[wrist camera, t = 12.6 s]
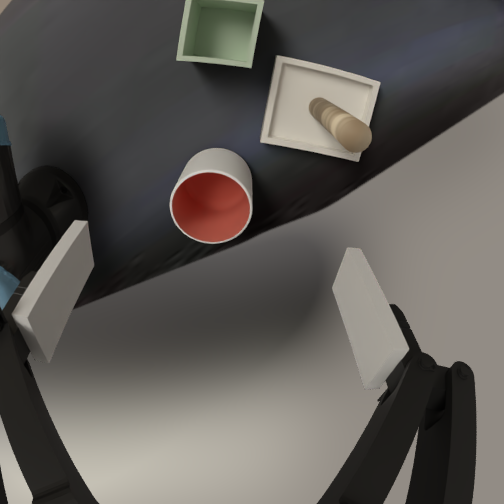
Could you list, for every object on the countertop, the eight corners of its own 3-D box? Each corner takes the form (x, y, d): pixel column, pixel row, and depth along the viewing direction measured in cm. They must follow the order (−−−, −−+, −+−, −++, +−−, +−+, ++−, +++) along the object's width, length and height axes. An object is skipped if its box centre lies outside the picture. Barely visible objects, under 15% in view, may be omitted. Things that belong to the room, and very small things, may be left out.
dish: (259, 137, 43) (260, 142, 41) (275, 55, 36) (277, 55, 34) (353, 156, 44) (358, 162, 42) (374, 80, 37) (380, 82, 35)
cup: (192, 138, 43) (177, 160, 34) (260, 155, 44) (263, 182, 36) (178, 199, 48) (164, 233, 40) (241, 214, 50) (239, 251, 41)
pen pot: (189, 59, 36) (176, 60, 29) (198, 3, 31) (187, -7, 25) (250, 66, 37) (251, 68, 30) (261, 10, 32) (264, 0, 26)
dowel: (306, 115, 40) (336, 148, 27) (311, 95, 38) (344, 117, 25) (327, 120, 40) (366, 155, 27) (332, 100, 38) (375, 125, 25)
